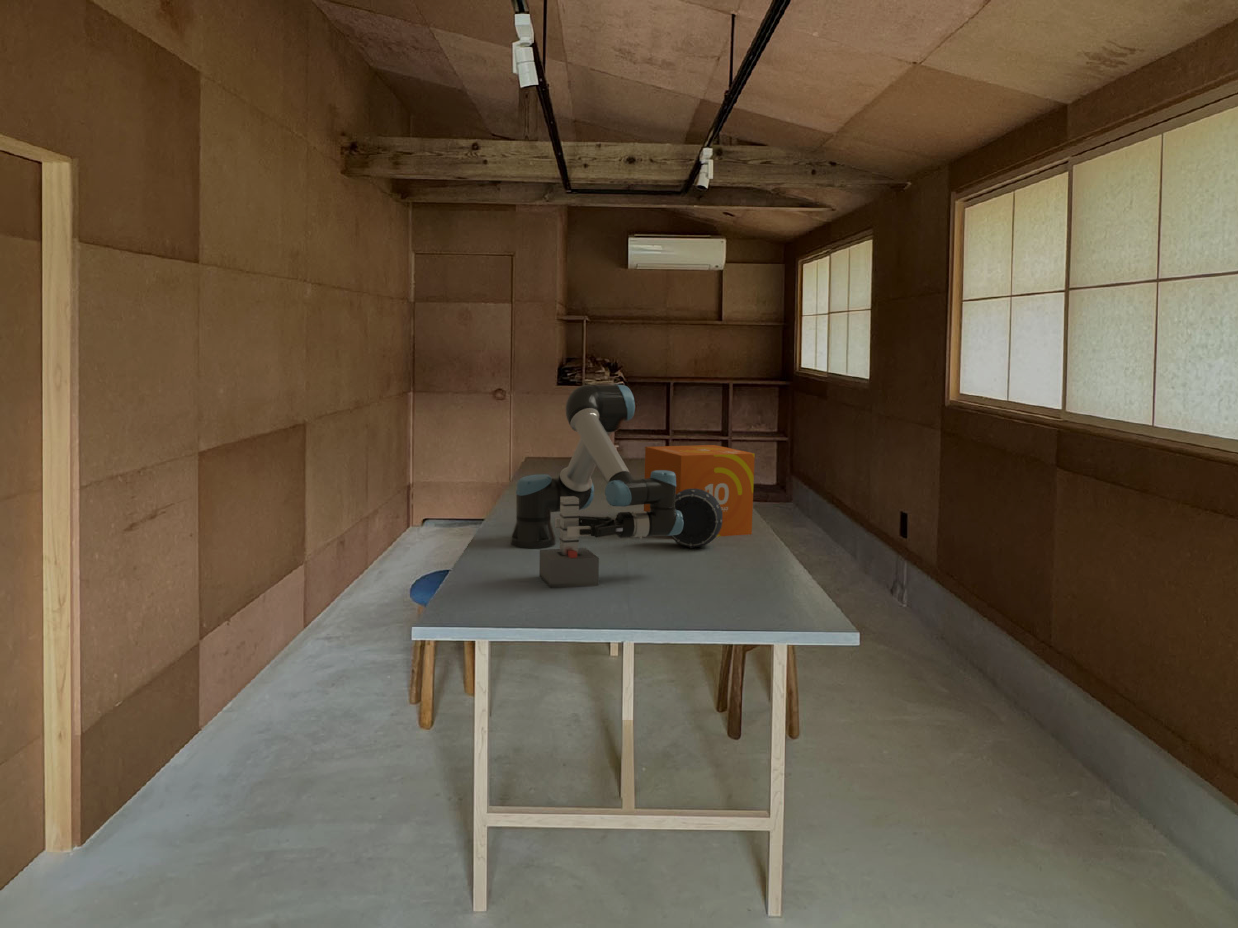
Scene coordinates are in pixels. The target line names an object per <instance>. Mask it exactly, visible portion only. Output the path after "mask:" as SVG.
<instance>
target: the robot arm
mask: <svg viewBox="0 0 1238 928" xmlns="http://www.w3.org/2000/svg"><path fill="white" fill-rule="evenodd" d="M635 410H636V403H635V397H634V394H633V392H632V391H631V389H630V387H628V386H627V385H624V384H616V383H615V384H583V385H579V386H578V387H577V388H575V389H574V390H572V392H571V393H570V394H569V396H568V397H567V400H566V403H565V417H566V420H567V422H568V424H569V426H570V428H571V429H572V431H574V432H577V433H578V436H579V437H580V438H579V440H578V443H577V445H576V447H575V450H574V452H573V454H572V457H571V459H570V461H569V463H568V466H567V467H566V466H565V467H564V468H563V469H561V471H560V473H559V475H558V477H555V478H554V477H553V478H552V476H551V475H550V474H544V473H543V474H542V473H540V474H531V475H526V476H523V477H521V478H520V479H518V480H517V482H516V491H515V494H516V509H515V510H516V515H515V517H516V522H515V525H514V528H513V531H512V533H511V537H510V544H511V546H514V547H517V548H523V549H525V548H526V549H543V548H544V549H545V548H550V547H553V546H555V545H556V535H555V532H554V529H553V526H552V520H551V515H552V514H551V513H557V512H558V513H560V497H567V496H575V497H577V498H579V511H580V510H585V509H587V508H588V507H589V506H590V505H591V504H592V502H593V500H594V497H595V487H594V483H593V480H592V478H591V477H592V475H593V473H594V471H595V469H596V467H597V469H598V470H599V472H600V474H601V476H602V477H603V479H604V480H605V483H606V485H605V487H604V488H605V489H604V495H605V497H606V498H605V500H606V502H607V503H608V504H609V506H611V507H622V508H623V507H629V506H630V507H631V506H640V505H641V506H642V505H644V504H650V511H644V510H641V511H640V510H639V511H631V512H630V511H620V512H617V514H616V516H615V517H616V518H615V519H614V518H612V517H609V516H587V515H586V516H585V515H584V516H582V515H579V526H577V527H567V537H576V536H578V537H594V538H596V539H597V538H601V537H606V536H607V537H608V536H614V535H617V537H618V538H620V539H621V538H622V539H623V538H624V539H625V538H638V539H639V540H640V539H643V537H645V538H646V537H668V536H669V537H671V535H678V534H680V533H681V532H682V529H683V523H684V522H683V516H682V513H681V512H680V511H679V510H675V495H676V475H675V473H674V472H672V471H667V470H656V471H652V472H651V476H650V478H647V479H645V478H634V477H633V475H632V474H631V472H630V470H629V469H628V467H627V465H626V463H625V462H624V460H623V459H622V457H621V455H620V453H619V452H618V450H617V448H616V446H615V445H614V443H613V440H611V438H610V437H611V435H612V433H615V432H617V431H618V430H619V429H620V427H621V424H622V423H623V422H628V421H630V420H632V419H633V417H634V415H635ZM554 520H555V521H554V522H555V528H556V529H558V528H559V529H560V517H555V519H554Z"/></svg>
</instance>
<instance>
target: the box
mask: <svg viewBox="0 0 1238 928" xmlns="http://www.w3.org/2000/svg"><path fill="white" fill-rule="evenodd" d="M644 449H645V451H644V452H645V453H644V479H647V478H650V476H651V472H652V471H656V470H667V471H672V472H674V473H675V475H676V494H677V493H679V492H681V491H683V490H686V489H701V490H704V491H706V492H708V493H710V494H711V495H712V496H714V497H715V498H716V500H717V501H718V503H719V505H720V507H721V509H722V513H723V517H722V527H721V529H720V532H719V533H718V535H717V536H716V537H717V538H718V537H731V536H744V535H745V536H746V535H753V533H752V531H753V513H754V512H753V509H754V483H755V481H754V480H755V459H756V457H755V455H756V453H754V452H749V451H744V450H741V449H740V450H739V449H735V448H730V447H726V446H721V445H717V444H702V445H697V444H696V445H666V446H665V445H663V446H657V445H656V446H645V447H644ZM643 511H650V504H643ZM716 537H715V538H716Z"/></svg>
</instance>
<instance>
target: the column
mask: <svg viewBox="0 0 1238 928" xmlns="http://www.w3.org/2000/svg"><path fill="white" fill-rule="evenodd" d="M579 516H580V510H579V498H577V497H575V496H567V497H560V512H559V518H560V528H559V538H558V539H559V540H558V541H559V549H560V556H568V551H572V550H575V551H576V552H577V556H578V548H579V542H580V540H579V536H576V537H567V527H577V526H579Z"/></svg>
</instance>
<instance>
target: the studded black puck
mask: <svg viewBox="0 0 1238 928" xmlns="http://www.w3.org/2000/svg"><path fill="white" fill-rule="evenodd" d="M675 510H679V511H680V512H681V513H682V516H683V522H684V523H683V529H682V532H681V533H680V534H678V535H671V536H670V538H671V539H672V540H674V541H675V543H676V545H682V546H684V547H688V548H690V549H693V548H700V547H703V546H707V545H708V544H710V543H711V542H713V540H715V538H716V536H717V535H718V533H719V532H720V529H721V527H722V517H723V513H722V509H721V507H720V505H719V503H718V501H717V500H716V498H715V497H714V496H712V495H711V494H710V493H708V492H706V491H704V490H701V489H686V490H683V491H681V492H679V493H677V494H676V495H675Z"/></svg>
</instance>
